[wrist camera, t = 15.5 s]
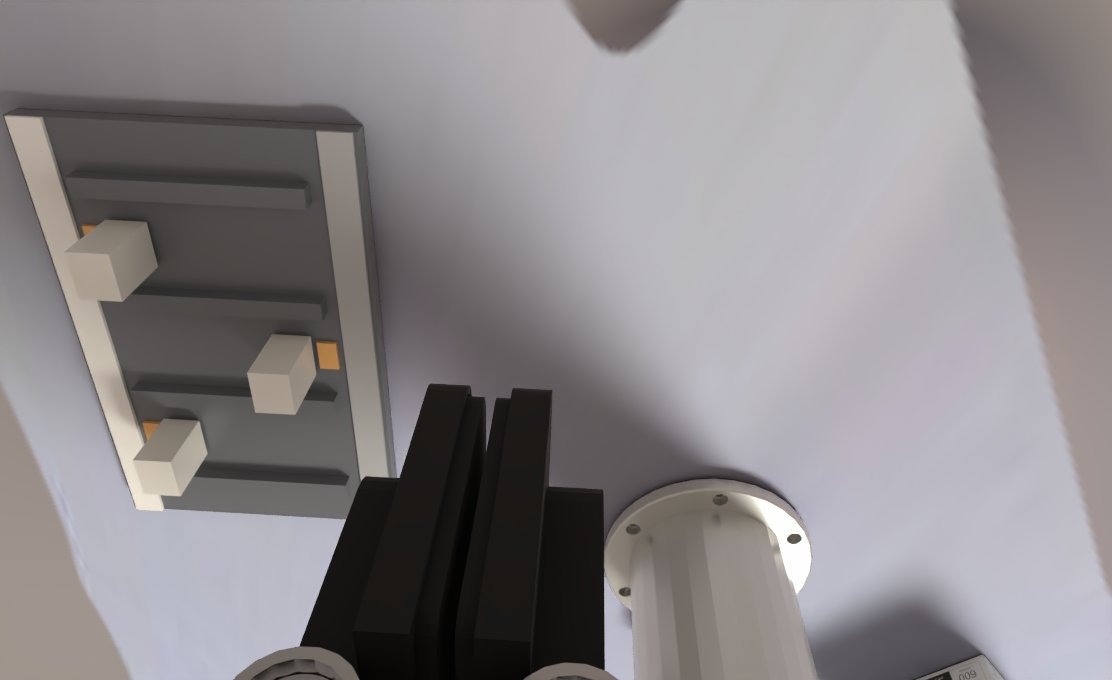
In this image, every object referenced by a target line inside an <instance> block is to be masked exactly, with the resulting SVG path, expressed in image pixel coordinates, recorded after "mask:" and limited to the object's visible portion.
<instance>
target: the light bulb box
mask: <svg viewBox="0 0 1112 680" xmlns="http://www.w3.org/2000/svg"><path fill="white" fill-rule="evenodd" d="M916 680H1004V679H1003V678H1002V676H1001V675H1000V674H999V673H998V672H997V670H996V669H995V668H994V667H993V666H992V664H991V663H990V662H989V661H988V660H987V659H986V657H985V656H983V655H980V656H977V657H974V658H972V659H969V660H967V661H964V662H961V663H959V664H956V665H953V666H951V667H948V668H945V669H943V670H940V671H938V672H935V673H932V674H930V675H927V676H924V677H921V678H919V679H916Z"/></svg>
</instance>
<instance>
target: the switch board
mask: <svg viewBox="0 0 1112 680" xmlns="http://www.w3.org/2000/svg"><path fill="white" fill-rule="evenodd" d="M3 117H4V120H5V123H6V126H7V129H8V132H9V135H10V138H11V141H12V144H13V147H14V150H15V153H16V155H17V158H18V161H19V164H20V167H21V170H22V173H23V176H24V179H25V182H26V185H27V188H28V191H29V194H30V197H31V200H32V203H33V206H34V209H35V212H36V215H37V218H38V221H39V224H40V227H41V230H42V232H43V235H44V238H45V241H46V244H47V247H48V250H49V253H50V256H51V259H52V262H53V265H54V268H55V271H56V274H57V277H58V280H59V283H60V286H61V289H62V292H63V295H64V298H65V301H66V304H67V306H68V309H69V312H70V315H71V318H72V321H73V324H74V327H75V330H76V333H77V336H78V339H79V342H80V345H81V348H82V351H83V354H84V357H85V360H86V363H87V366H88V369H89V372H90V375H91V378H92V380H93V383H94V386H95V389H96V392H97V395H98V398H99V401H100V404H101V407H102V410H103V413H104V416H105V419H106V422H107V425H108V428H109V431H110V434H111V437H112V440H113V443H114V446H115V449H116V452H117V454H118V457H119V460H120V463H121V466H122V469H123V472H124V475H125V478H126V481H127V484H128V487H129V490H130V493H131V496H132V499H133V502H134V505H135V507H136V508H137V510H154V511H163V510H164V509H179V510H196V511H213V512H230V513H247V514H265V515H282V516H299V517H316V518H333V519H347V516H348V513H349V511H350V508H351V505H352V503H353V500H354V497H355V494H356V492H357V489H358V487H359V485H360V483H361V481H362V479H363V478H364V477H365V476H372V477H389V478H397V474H396V463H395V453H394V442H393V432H392V422H391V411H390V401H389V390H388V380H387V369H386V359H385V348H384V338H383V328H382V317H381V307H380V296H379V286H378V275H377V265H376V254H375V244H374V234H373V223H372V213H371V202H370V192H369V181H368V171H367V160H366V150H365V140H364V129H363V125H346V124H325V123H304V122H284V121H263V120H243V119H222V118H201V117H181V116H160V115H140V114H119V113H98V112H78V111H57V110H37V109H14V110H12V111H10V112H8V113H6V114H4V115H3ZM104 220H121V221H140V222H147V226H148V229H149V233H150V237H151V241H152V245H153V249H154V253H155V256H156V260H157V264H158V267H157V268H156V269H155V270H154V271H153V272H152V273H151V274H150V275H149V276H148V277H147V278H146V279H145V280H144V281H143V282H142V283H141V284H140V285H139V286H138V287H137V288H136V289H135V290H134V291H133V292H132V293H131V294H130V295H129V296H128V297H127V298H126V299H125V300H124V301H123V302H116V301H97V300H79V297H78V294H77V291H76V288H75V285H74V282H73V279H72V276H71V273H70V270H69V267H68V264H67V261H66V258H65V255H64V251H66V250H67V249H68V248H70V247H71V246H72V245H73V244H75V243H76V242H77V241H79V240H80V239H81V238H82V237H84V236H85V235H86V234H87V233H89V232H90V231H91V230H93V229H94V228H95V227H96V226H98V225H99V224H100V223H102V222H103V221H104ZM272 334H278V335H296V336H311V342H312V348H313V355H314V361H315V368H316V374H317V375H316V376H315V378H314V380H313V382H312V384H311V386H310V388H309V390H308V392H307V394H306V396H305V397H304V399H303V401H302V403H301V405H300V407H299V409H298V411H297V413H296V415H288V414H271V413H255V409H254V404H253V399H252V394H251V390H250V385H249V380H248V375H247V372H248V370H249V369H250V367H251V366H252V364H253V363H254V361H255V360H256V358H257V357H258V355H259V354H260V352H261V351H262V349H263V347H264V346H265V344H266V343H267V341H268V340H269V338H270V337H271V335H272ZM163 419H179V420H197V421H199V422H200V426H201V430H202V434H203V438H204V442H205V446H206V449H207V453H208V454H207V455H206V457H205V459H204V460H203V462H202V463H201V465H200V467H199V468H198V470H197V471H196V473H195V474H194V476H193V478H192V479H191V481H190V482H189V484H188V486H187V487H186V489H185V490H184V492H183V493H182V495H181V496H166V495H148V494H144V493H143V490H142V487H141V484H140V481H139V478H138V475H137V472H136V469H135V466H134V463H133V459H134V458H135V456H136V455H137V454H138V452H139V451H140V450H141V448H142V447H143V446H144V444H145V443H146V442H147V440H148V439H149V438H150V436H151V435H152V433H153V432H154V431H155V429H156V428H157V427H158V425H159V424H160V423H161V421H162V420H163Z"/></svg>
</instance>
